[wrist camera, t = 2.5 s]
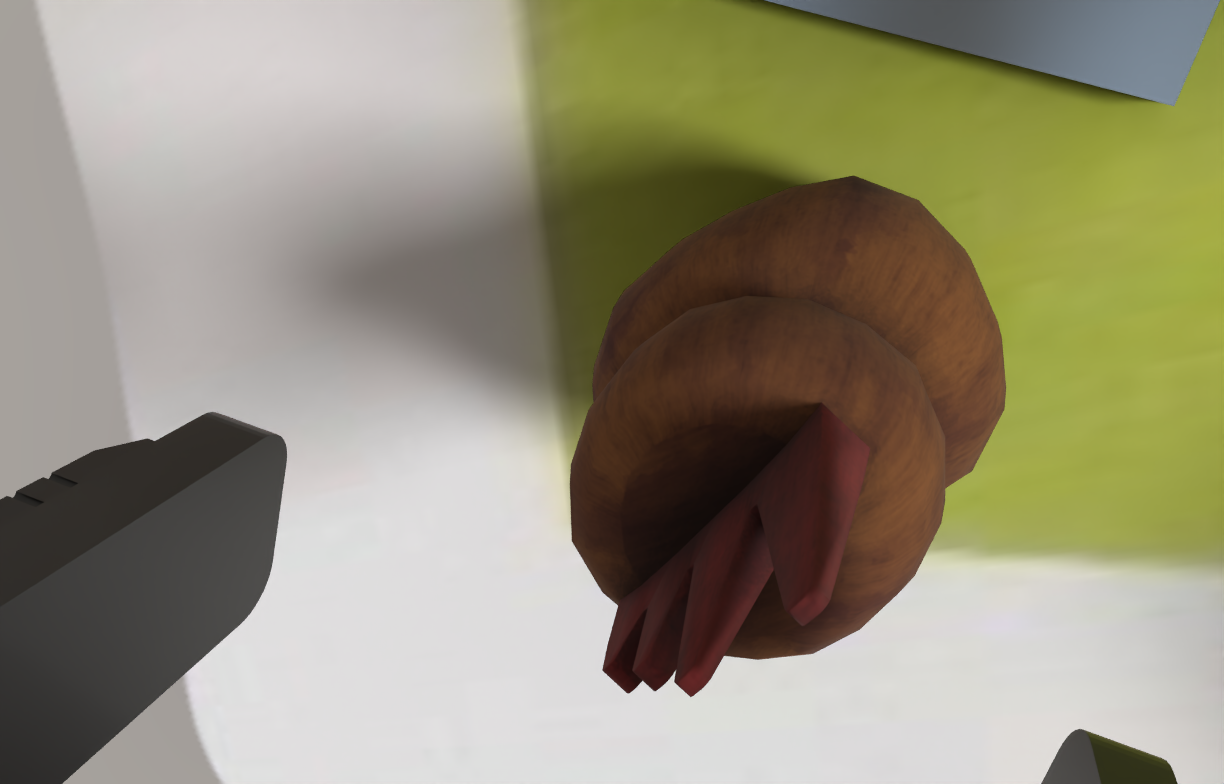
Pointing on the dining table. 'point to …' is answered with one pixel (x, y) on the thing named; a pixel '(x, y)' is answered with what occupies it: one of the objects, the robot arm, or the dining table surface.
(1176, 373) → the dining table surface
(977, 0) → the board
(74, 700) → the robot arm
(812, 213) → the wooden figurine
